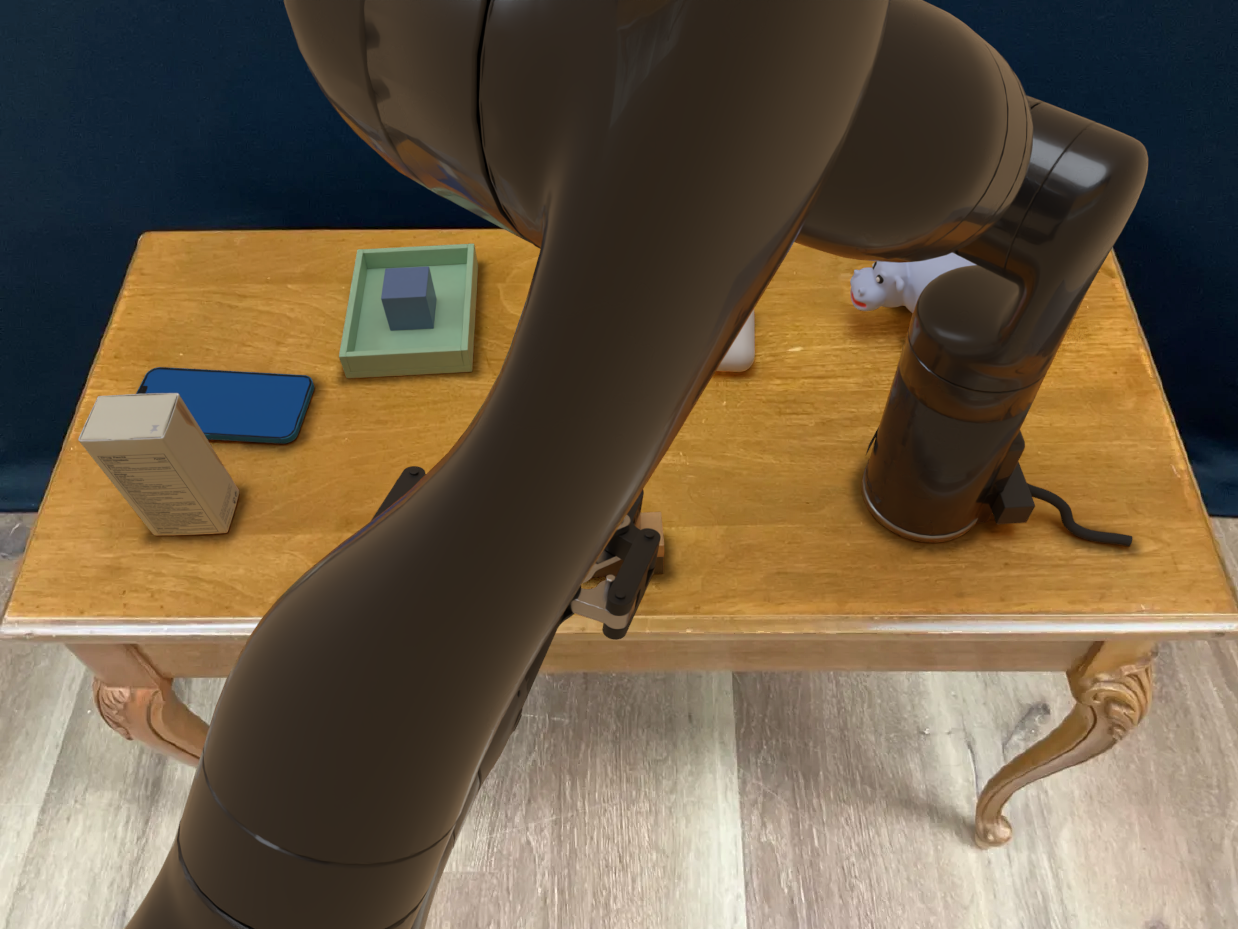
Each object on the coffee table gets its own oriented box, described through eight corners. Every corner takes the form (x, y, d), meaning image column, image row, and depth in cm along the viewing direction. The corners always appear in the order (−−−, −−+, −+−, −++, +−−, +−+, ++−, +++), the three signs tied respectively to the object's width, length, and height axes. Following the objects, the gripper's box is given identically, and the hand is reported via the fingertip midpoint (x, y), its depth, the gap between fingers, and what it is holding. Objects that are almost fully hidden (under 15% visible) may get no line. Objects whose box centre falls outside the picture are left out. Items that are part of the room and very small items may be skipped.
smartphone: (292, 440, 81) (117, 429, 82) (295, 447, 82) (122, 437, 82) (315, 374, 85) (149, 365, 86) (318, 382, 86) (153, 373, 87)
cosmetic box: (241, 490, 79) (184, 390, 69) (228, 535, 76) (167, 438, 67) (163, 492, 79) (95, 392, 69) (148, 536, 76) (75, 439, 67)
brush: (660, 540, 75) (663, 415, 63) (663, 573, 73) (666, 451, 61) (583, 544, 75) (571, 420, 63) (584, 578, 73) (572, 456, 61)
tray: (478, 265, 95) (474, 243, 93) (472, 372, 86) (467, 350, 84) (364, 271, 95) (357, 249, 93) (346, 378, 86) (338, 356, 84)
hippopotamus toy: (833, 286, 92) (849, 204, 84) (990, 279, 92) (1021, 196, 84) (854, 370, 85) (874, 289, 78) (1024, 362, 85) (1060, 280, 78)
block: (436, 298, 91) (429, 265, 88) (433, 328, 89) (426, 296, 85) (394, 300, 91) (385, 268, 88) (390, 331, 89) (380, 298, 85)
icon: (756, 265, 88) (757, 344, 82) (752, 300, 91) (753, 379, 85) (622, 260, 88) (613, 338, 82) (623, 295, 92) (615, 373, 86)
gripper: (608, 662, 39) (688, 444, 52) (289, 571, 41) (441, 383, 54) (590, 772, 44) (668, 547, 57) (303, 685, 46) (441, 487, 59)
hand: (557, 467), depth 55 cm, fingers open, 8 cm apart
